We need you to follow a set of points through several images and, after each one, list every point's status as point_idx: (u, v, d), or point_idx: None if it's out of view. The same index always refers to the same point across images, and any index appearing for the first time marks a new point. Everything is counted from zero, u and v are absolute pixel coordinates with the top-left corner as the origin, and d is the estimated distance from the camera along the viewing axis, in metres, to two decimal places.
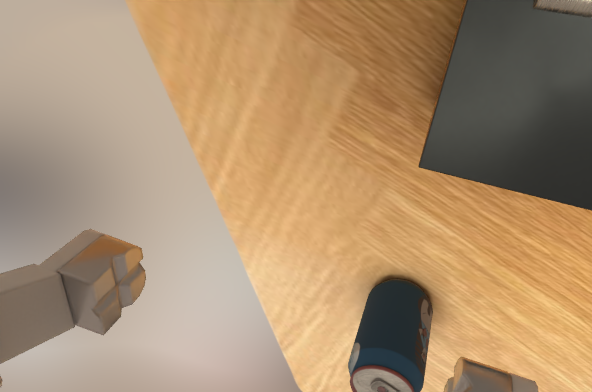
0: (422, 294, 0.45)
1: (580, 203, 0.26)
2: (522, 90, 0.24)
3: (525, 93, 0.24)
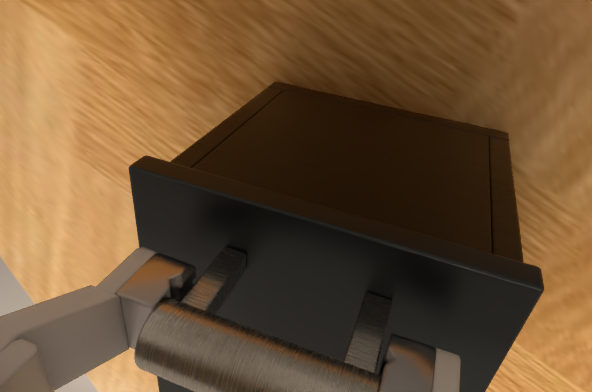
0: None
1: None
2: None
3: None
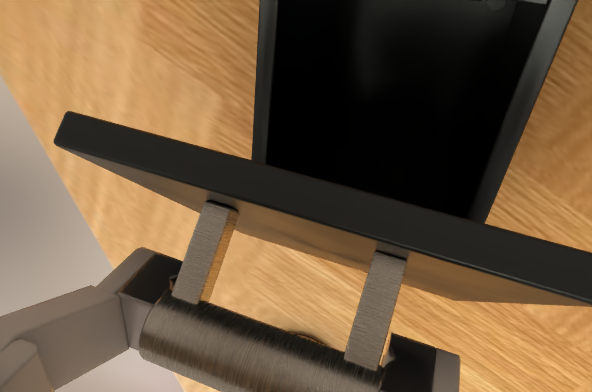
0: None
1: (434, 293, 0.19)
2: (299, 243, 0.15)
3: (304, 245, 0.15)
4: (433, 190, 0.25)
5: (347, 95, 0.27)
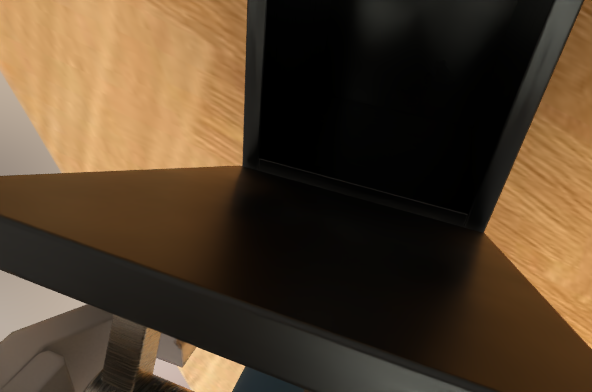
0: None
1: None
2: None
3: None
4: (449, 139, 0.23)
5: (352, 36, 0.24)
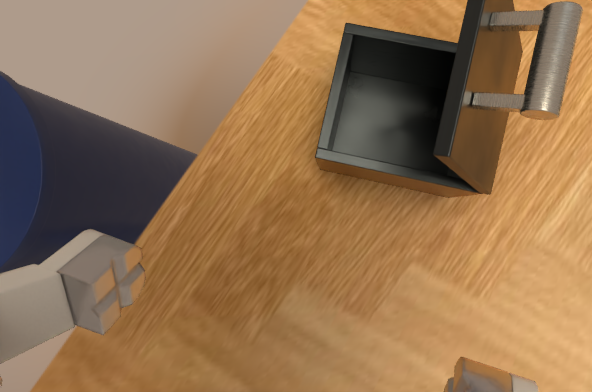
0: None
1: (519, 62, 0.31)
2: (491, 112, 0.26)
3: (492, 110, 0.26)
4: None
5: (409, 164, 0.41)
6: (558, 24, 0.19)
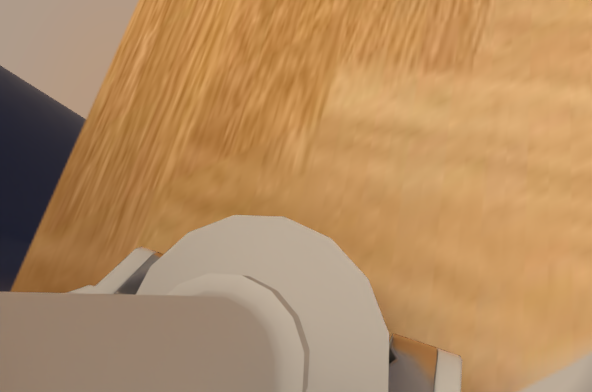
0: None
1: None
2: None
3: None
4: None
5: None
6: None
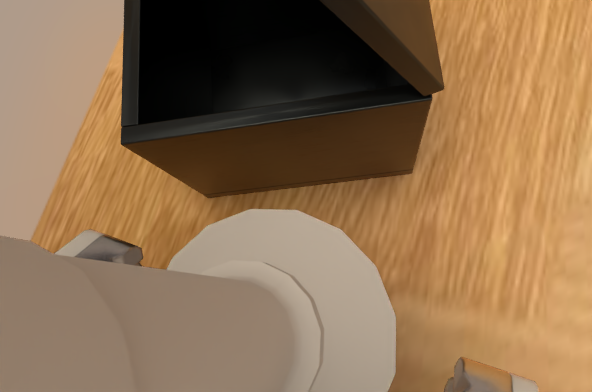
0: None
1: None
2: None
3: None
4: None
5: None
6: None
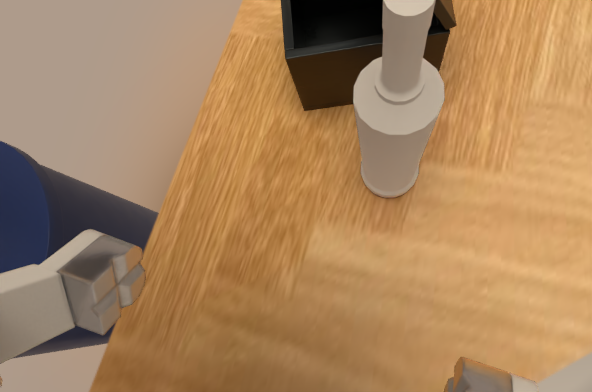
0: None
1: None
2: None
3: None
4: None
5: None
6: None
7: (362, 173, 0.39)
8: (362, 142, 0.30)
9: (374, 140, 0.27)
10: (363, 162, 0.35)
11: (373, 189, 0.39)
